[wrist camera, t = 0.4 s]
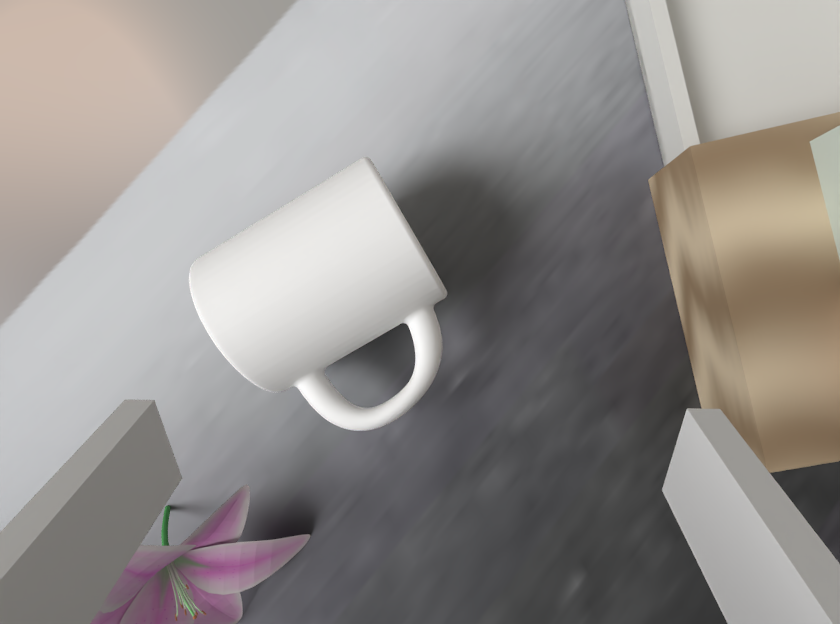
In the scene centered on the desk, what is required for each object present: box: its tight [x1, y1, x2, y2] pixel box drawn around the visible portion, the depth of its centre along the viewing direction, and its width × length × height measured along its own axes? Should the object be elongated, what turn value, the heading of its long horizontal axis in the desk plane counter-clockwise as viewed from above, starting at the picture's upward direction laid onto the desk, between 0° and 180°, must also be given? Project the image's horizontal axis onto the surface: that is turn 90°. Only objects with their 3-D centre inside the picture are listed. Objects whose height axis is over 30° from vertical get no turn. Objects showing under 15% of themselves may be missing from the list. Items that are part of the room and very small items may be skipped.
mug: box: [189, 157, 447, 431], centre depth 24 cm, size 12×10×8 cm
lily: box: [90, 485, 310, 624], centre depth 25 cm, size 12×12×10 cm
